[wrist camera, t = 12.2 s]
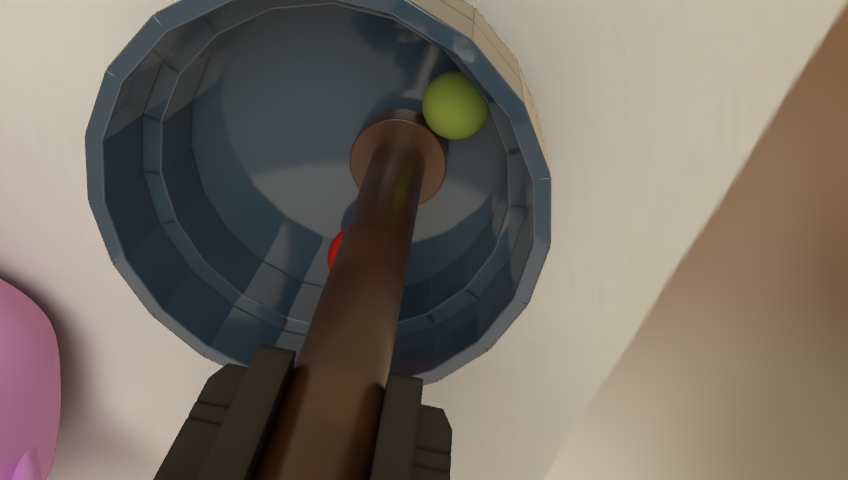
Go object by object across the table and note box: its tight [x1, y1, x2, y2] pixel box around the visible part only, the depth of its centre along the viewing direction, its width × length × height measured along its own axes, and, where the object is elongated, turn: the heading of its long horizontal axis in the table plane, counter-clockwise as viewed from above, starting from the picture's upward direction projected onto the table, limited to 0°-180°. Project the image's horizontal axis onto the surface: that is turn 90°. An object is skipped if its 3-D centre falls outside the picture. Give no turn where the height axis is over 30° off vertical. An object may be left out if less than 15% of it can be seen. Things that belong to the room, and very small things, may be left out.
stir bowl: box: [85, 0, 551, 385], centre depth 23 cm, size 15×15×6 cm
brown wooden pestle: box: [253, 109, 448, 480], centre depth 17 cm, size 4×4×18 cm
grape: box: [422, 71, 489, 140], centre depth 23 cm, size 2×2×2 cm
